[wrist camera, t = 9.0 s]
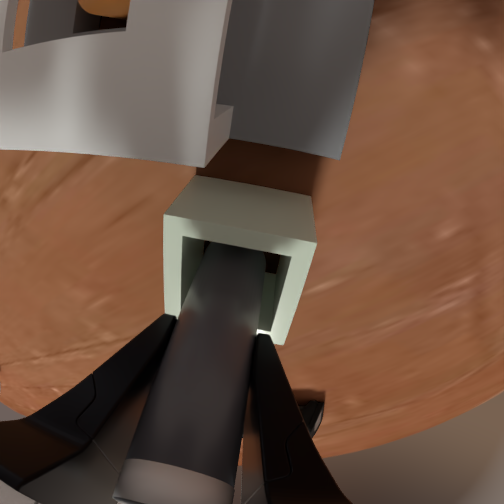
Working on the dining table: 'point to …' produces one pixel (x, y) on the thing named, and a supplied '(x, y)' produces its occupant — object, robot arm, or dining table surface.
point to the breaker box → (182, 77)
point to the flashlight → (199, 389)
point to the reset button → (107, 8)
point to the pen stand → (241, 242)
